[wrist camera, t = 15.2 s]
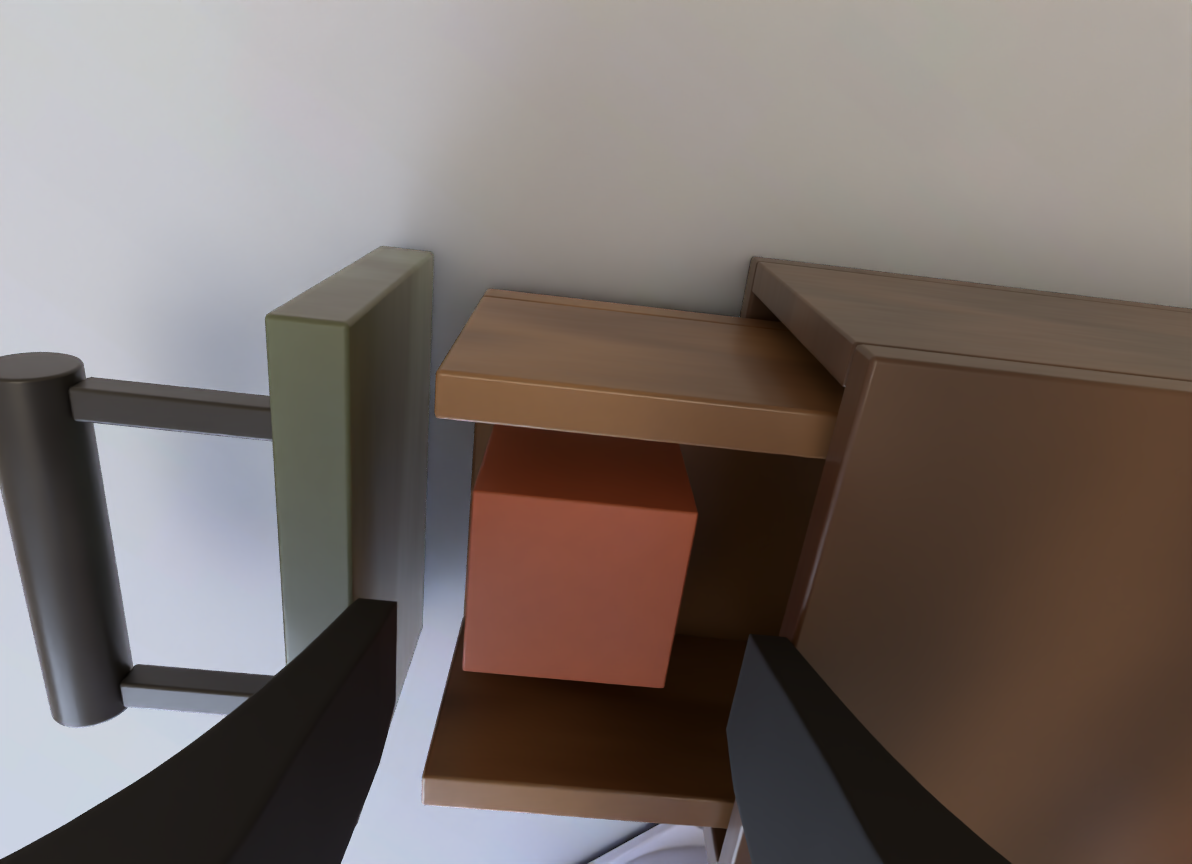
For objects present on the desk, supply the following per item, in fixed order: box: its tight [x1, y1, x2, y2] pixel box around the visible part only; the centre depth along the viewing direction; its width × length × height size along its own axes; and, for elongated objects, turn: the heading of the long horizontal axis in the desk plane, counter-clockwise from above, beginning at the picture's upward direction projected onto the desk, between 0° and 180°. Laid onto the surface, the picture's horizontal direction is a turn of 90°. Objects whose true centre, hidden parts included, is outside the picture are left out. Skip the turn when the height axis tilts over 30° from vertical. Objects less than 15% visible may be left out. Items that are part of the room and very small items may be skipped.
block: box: [462, 424, 699, 688], centre depth 15 cm, size 4×4×4 cm
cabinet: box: [703, 257, 1192, 864], centre depth 16 cm, size 12×11×8 cm
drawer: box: [0, 246, 845, 829], centre depth 15 cm, size 16×10×6 cm, turn 83°
